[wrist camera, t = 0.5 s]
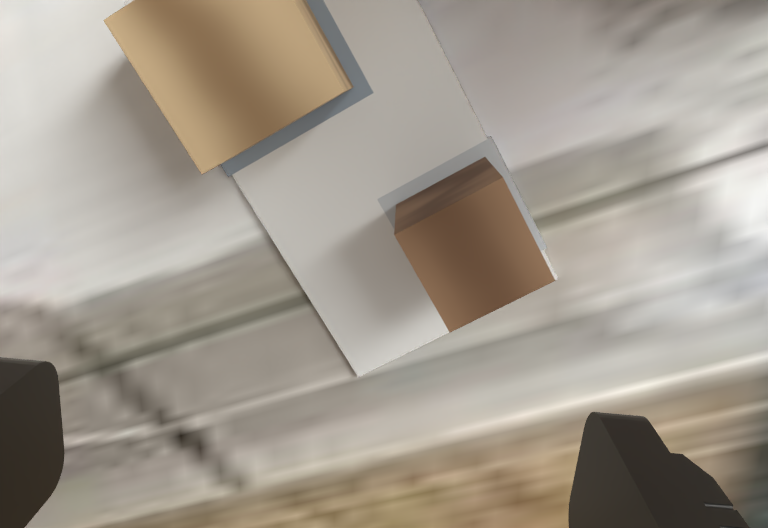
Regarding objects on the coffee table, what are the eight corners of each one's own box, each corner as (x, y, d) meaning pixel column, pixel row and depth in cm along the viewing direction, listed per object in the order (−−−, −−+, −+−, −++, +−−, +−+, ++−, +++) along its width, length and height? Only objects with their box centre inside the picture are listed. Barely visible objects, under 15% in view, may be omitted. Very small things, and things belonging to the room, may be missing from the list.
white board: (350, -143, 28) (349, -146, 28) (559, 274, 34) (561, 277, 33) (124, 6, 30) (120, 5, 30) (355, 375, 36) (355, 378, 35)
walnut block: (485, 156, 31) (503, 177, 26) (528, 242, 33) (555, 280, 27) (396, 204, 32) (394, 235, 26) (441, 286, 33) (449, 332, 28)
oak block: (276, -54, 29) (251, -77, 24) (353, 87, 31) (344, 91, 26) (151, 27, 30) (103, 20, 25) (232, 157, 32) (201, 174, 27)
